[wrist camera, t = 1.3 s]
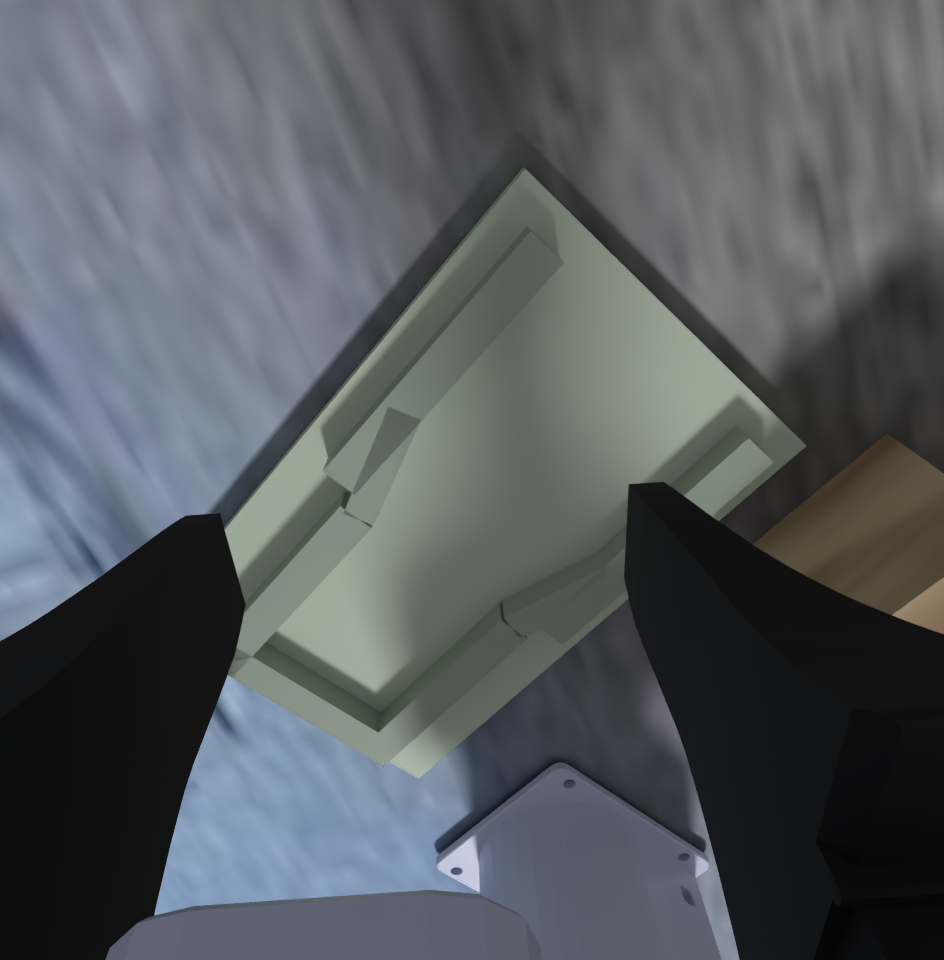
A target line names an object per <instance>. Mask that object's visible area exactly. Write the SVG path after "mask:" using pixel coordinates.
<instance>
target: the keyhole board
mask: <svg viewBox="0 0 944 960" xmlns="http://www.w3.org/2000/svg"><path fill="white" fill-rule="evenodd" d="M805 447H806V445H805V444H804V443H803V442H802V441H801V440H800V439H799V438H798V437H797V436H796V435H795V434H794V433H793V432H792V431H791V430H790V429H789V428H788V427H787V426H786V425H785V424H784V423H783V422H782V421H781V420H780V419H779V418H778V417H777V416H776V415H775V414H774V413H773V412H772V411H771V410H770V409H769V408H768V407H767V406H766V405H765V404H764V403H763V402H762V401H761V400H760V399H759V398H758V397H757V396H756V395H755V394H754V393H753V392H752V391H751V390H750V389H748V388H747V387H746V386H745V385H744V384H743V383H742V382H741V381H740V380H739V379H738V378H737V377H736V376H735V375H734V374H733V373H732V372H731V371H730V370H729V369H728V368H727V367H726V366H725V365H724V364H723V363H722V362H721V361H720V360H719V359H718V358H717V357H716V356H715V355H714V354H713V353H712V352H711V351H710V350H709V349H708V348H707V347H706V346H705V345H704V344H703V343H702V342H701V341H700V340H699V339H698V338H697V337H696V336H695V335H694V334H693V333H692V332H691V331H690V330H689V329H688V328H687V327H686V326H685V325H684V324H683V323H682V322H680V321H679V320H678V319H677V318H676V317H675V316H674V315H673V314H672V313H671V312H670V311H669V310H668V309H667V308H666V307H665V306H664V305H663V304H662V303H661V302H660V301H659V300H658V299H657V298H656V297H655V296H654V295H653V294H652V293H651V292H650V291H649V290H648V289H647V288H646V287H645V286H644V285H643V284H642V283H641V282H640V281H639V280H638V279H637V278H636V277H635V276H634V275H633V274H632V273H631V272H630V271H629V270H628V269H627V268H626V267H625V266H624V265H623V264H622V263H621V262H620V261H619V260H618V259H617V258H616V257H615V256H614V255H612V254H611V253H610V252H609V251H608V250H607V249H606V248H605V247H604V246H603V245H602V244H601V243H600V242H599V241H598V240H597V239H596V238H595V237H594V236H593V235H592V234H591V233H590V232H589V231H588V230H587V229H586V228H585V227H584V226H583V225H582V224H581V223H580V222H579V221H578V220H577V219H576V218H575V217H574V216H573V215H572V214H571V213H570V212H569V211H568V210H567V209H566V208H565V207H564V206H563V205H562V204H561V203H560V202H559V201H558V200H557V199H556V198H555V197H554V196H553V195H552V194H551V193H550V192H549V191H548V190H547V189H546V188H544V187H543V186H542V185H541V184H540V183H539V182H538V181H537V180H536V179H535V178H534V177H533V176H532V175H531V174H530V173H529V172H528V171H527V170H526V169H525V168H522V169H521V170H520V171H519V173H518V174H517V175H516V176H515V177H514V179H513V180H512V181H511V182H510V184H509V185H508V186H507V187H506V188H505V190H504V191H503V192H502V193H501V194H500V196H499V197H498V198H497V199H496V200H495V202H494V203H493V204H492V205H491V206H490V208H489V209H488V210H487V211H486V212H485V214H484V215H483V216H482V217H481V218H480V220H479V221H478V222H477V223H476V224H475V226H474V227H473V228H472V229H471V230H470V232H469V233H468V234H467V235H466V236H465V238H464V239H463V240H462V241H461V242H460V244H459V245H458V246H457V247H456V248H455V250H454V251H453V252H452V253H451V254H450V256H449V257H448V258H447V259H446V260H445V262H444V263H443V264H442V265H441V266H440V268H439V269H438V270H437V271H436V273H435V274H434V275H433V276H432V277H431V279H430V280H429V281H428V282H427V283H426V285H425V286H424V287H423V288H422V289H421V291H420V292H419V293H418V294H417V295H416V297H415V298H414V299H413V300H412V301H411V303H410V304H409V305H408V306H407V307H406V309H405V310H404V311H403V312H402V313H401V315H400V316H399V317H398V318H397V319H396V321H395V322H394V323H393V324H392V325H391V327H390V328H389V329H388V330H387V331H386V333H385V334H384V335H383V336H382V337H381V339H380V340H379V341H378V342H377V343H376V345H375V346H374V347H373V348H372V349H371V351H370V352H369V353H368V354H367V355H366V357H365V358H364V359H363V360H362V362H361V363H360V364H359V365H358V366H357V368H356V369H355V370H354V371H353V372H352V374H351V375H350V376H349V377H348V378H347V380H346V381H345V382H344V383H343V384H342V386H341V387H340V388H339V389H338V390H337V392H336V393H335V394H334V395H333V396H332V398H331V399H330V400H329V401H328V402H327V404H326V405H325V406H324V407H323V408H322V410H321V411H320V412H319V413H318V414H317V416H316V417H315V418H314V419H313V420H312V422H311V423H310V424H309V425H308V426H307V428H306V429H305V430H304V431H303V432H302V434H301V435H300V436H299V437H298V438H297V440H296V441H295V442H294V443H293V444H292V446H291V447H290V448H289V449H288V451H287V452H286V453H285V454H284V455H283V457H282V458H281V459H280V460H279V461H278V463H277V464H276V465H275V466H274V467H273V469H272V470H271V471H270V472H269V473H268V475H267V476H266V477H265V478H264V479H263V481H262V482H261V483H260V484H259V485H258V487H257V488H256V489H255V490H254V491H253V493H252V494H251V495H250V496H249V497H248V499H247V500H246V501H245V502H244V503H243V505H242V506H241V507H240V508H239V509H238V511H237V512H236V513H235V514H234V515H233V517H232V518H231V519H230V520H229V521H228V523H227V524H226V525H225V526H224V529H225V533H226V537H227V540H228V544H229V547H230V551H231V554H232V558H233V562H234V565H235V569H236V572H237V576H238V579H239V583H240V586H241V590H242V594H243V597H244V601H245V604H246V606H245V611H244V616H243V621H242V626H241V631H240V635H239V639H238V644H237V648H236V652H235V656H234V658H233V661H232V664H231V667H230V669H229V672H228V675H229V676H230V677H232V678H234V679H236V680H237V681H239V682H241V683H242V684H244V685H246V686H248V687H249V688H251V689H253V690H254V691H256V692H258V693H259V694H261V695H263V696H265V697H266V698H268V699H270V700H271V701H273V702H275V703H277V704H278V705H280V706H282V707H283V708H285V709H287V710H288V711H290V712H292V713H294V714H295V715H297V716H299V717H300V718H302V719H304V720H306V721H307V722H309V723H311V724H312V725H314V726H316V727H318V728H319V729H321V730H323V731H324V732H326V733H328V734H329V735H331V736H333V737H335V738H336V739H338V740H340V741H341V742H343V743H345V744H347V745H348V746H350V747H352V748H353V749H355V750H357V751H359V752H360V753H362V754H364V755H365V756H367V757H369V758H370V759H372V760H374V761H376V762H377V763H379V764H381V765H382V766H385V765H386V764H387V763H388V762H391V763H392V764H394V765H396V766H398V767H399V768H401V769H403V770H404V771H406V772H408V773H409V774H411V775H413V776H415V777H416V778H418V779H419V778H420V777H421V776H423V775H424V774H425V773H426V772H427V771H428V770H430V769H431V768H432V767H433V766H434V765H435V764H437V763H438V762H439V761H440V760H441V759H442V758H444V757H445V756H446V755H447V754H448V753H449V752H451V751H452V750H453V749H454V748H455V747H456V746H458V745H459V744H460V743H461V742H462V741H463V740H465V739H466V738H467V737H468V736H469V735H470V734H471V733H473V732H474V731H475V730H476V729H477V728H478V727H480V726H481V725H482V724H483V723H484V722H485V721H487V720H488V719H489V718H490V717H491V716H492V715H494V714H495V713H496V712H497V711H498V710H499V709H501V708H502V707H503V706H504V705H505V704H506V703H508V702H509V701H510V700H511V699H512V698H513V697H515V696H516V695H517V694H518V693H519V692H520V691H522V690H523V689H524V688H525V687H526V686H527V685H529V684H530V683H531V682H532V681H533V680H534V679H536V678H537V677H538V676H539V675H540V674H541V673H543V672H544V671H545V670H546V669H547V668H548V667H550V666H551V665H552V664H553V663H554V662H555V661H557V660H558V659H559V658H560V657H561V656H562V655H564V654H565V653H566V652H567V651H568V650H569V649H571V648H572V647H573V646H574V645H575V644H576V643H578V642H579V641H580V640H581V639H582V638H583V637H585V636H586V635H587V634H588V633H589V632H590V631H592V630H593V629H594V628H595V627H596V626H597V625H599V624H600V623H601V622H602V621H603V620H604V619H606V618H607V617H608V616H609V615H610V614H611V613H612V612H614V611H615V610H616V609H617V608H618V607H619V606H621V605H622V604H623V603H624V602H625V601H626V600H628V599H629V597H628V593H627V589H626V585H625V581H624V567H625V547H626V527H627V507H628V487H629V484H638V483H652V482H665V483H666V484H668V485H669V486H671V487H672V488H674V489H675V490H676V491H678V492H679V493H681V494H682V495H683V496H685V497H686V498H687V499H689V500H690V501H691V502H693V503H694V504H696V505H697V506H698V507H700V508H701V509H702V510H704V511H705V512H706V513H708V514H709V515H711V516H712V517H713V518H715V519H716V520H717V521H720V520H721V519H722V518H723V517H724V516H726V515H727V514H728V513H729V512H730V511H731V510H733V509H734V508H735V507H736V506H737V505H738V504H740V503H741V502H742V501H743V500H744V499H745V498H747V497H748V496H749V495H750V494H751V493H752V492H753V491H755V490H756V489H757V488H758V487H759V486H760V485H762V484H763V483H764V482H765V481H766V480H767V479H769V478H770V477H771V476H772V475H773V474H774V473H776V472H777V471H778V470H779V469H780V468H781V467H783V466H784V465H785V464H786V463H787V462H788V461H790V460H791V459H792V458H793V457H794V456H795V455H797V454H798V453H799V452H800V451H801V450H802V449H804V448H805Z"/></svg>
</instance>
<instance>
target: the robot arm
mask: <svg viewBox="0 0 944 960" xmlns="http://www.w3.org/2000/svg"><path fill="white" fill-rule="evenodd" d="M624 581H625V585H626V589H627V593H628V597H629V601H630V606H631V609H632V613H633V617H634V621H635V625H636V628H637V630H638V633H639V635H640V638H641V640H642V643H643V646H644V648H645V651H646V653H647V656H648V658H649V661H650V663H651V666H652V668H653V671H654V673H655V675H656V678H657V680H658V683H659V685H660V688H661V690H662V693H663V695H664V698H665V700H666V703H667V705H668V707H669V710H670V712H671V715H672V717H673V720H674V722H675V725H676V727H677V730H678V732H679V735H680V738H681V741H682V744H683V747H684V749H685V752H686V755H687V759H688V762H689V766H690V769H691V773H692V776H693V780H694V783H695V787H696V790H697V794H698V797H699V801H700V804H701V808H702V812H703V815H704V819H705V823H706V827H707V830H708V834H709V838H710V842H711V845H712V849H713V853H714V857H715V860H716V864H717V868H718V872H719V876H720V880H721V884H722V888H723V892H724V896H725V900H726V904H727V908H728V912H729V916H730V920H731V925H732V929H733V933H734V937H735V941H736V945H737V950H738V954H739V958H740V960H944V634H942V633H939V632H936V631H933V630H930V629H927V628H924V627H922V626H919V625H916V624H913V623H911V622H908V621H905V620H902V619H900V618H898V617H895V616H893V615H890V614H888V613H885V612H883V611H880V610H878V609H875V608H873V607H871V606H868V605H866V604H863V603H861V602H859V601H856V600H854V599H852V598H850V597H848V596H845V595H843V594H841V593H839V592H837V591H835V590H833V589H831V588H829V587H827V586H825V585H823V584H821V583H819V582H817V581H815V580H813V579H811V578H809V577H807V576H805V575H803V574H801V573H800V572H798V571H796V570H794V569H792V568H791V567H789V566H787V565H785V564H784V563H782V562H780V561H779V560H777V559H775V558H774V557H772V556H770V555H769V554H767V553H766V552H764V551H762V550H761V549H759V548H757V547H756V546H754V545H753V544H751V543H750V542H748V541H747V540H745V539H744V538H742V537H741V536H739V535H738V534H736V533H735V532H733V531H732V530H730V529H729V528H727V527H726V526H725V525H723V524H722V523H720V522H719V521H717V520H716V519H715V518H713V517H712V516H711V515H709V514H708V513H706V512H705V511H704V510H702V509H701V508H700V507H698V506H697V505H696V504H694V503H693V502H691V501H690V500H689V499H687V498H686V497H685V496H683V495H682V494H681V493H679V492H678V491H676V490H675V489H674V488H672V487H671V486H669V485H668V484H666V483H665V482H652V483H638V484H629V487H628V507H627V527H626V547H625V567H624ZM245 606H246V604H245V601H244V597H243V594H242V590H241V586H240V583H239V579H238V576H237V572H236V569H235V565H234V562H233V558H232V554H231V551H230V547H229V544H228V540H227V537H226V533H225V529H224V526H223V522H222V519H221V515H220V513H218V514H204V515H190V516H185V517H183V518H181V519H180V520H178V521H176V522H175V523H173V524H172V525H170V526H169V527H167V528H166V529H165V530H163V531H162V532H160V533H159V534H158V535H156V536H155V537H153V538H152V539H151V540H149V541H148V542H147V543H145V544H144V545H143V546H141V547H140V548H139V549H137V550H136V551H135V552H133V553H132V554H131V555H129V556H128V557H127V558H125V559H124V560H123V561H121V562H120V563H118V564H117V565H116V566H114V567H113V568H112V569H110V570H109V571H108V572H106V573H105V574H104V575H102V576H101V577H99V578H98V579H97V580H95V581H94V582H92V583H91V584H89V585H88V586H86V587H85V588H84V589H82V590H81V591H79V592H78V593H76V594H75V595H73V596H72V597H70V598H69V599H67V600H66V601H65V602H63V603H62V604H60V605H59V606H57V607H56V608H54V609H53V610H51V611H50V612H48V613H47V614H45V615H44V616H42V617H41V618H39V619H37V620H36V621H34V622H33V623H31V624H29V625H28V626H26V627H24V628H23V629H21V630H19V631H18V632H16V633H14V634H12V635H11V636H9V637H7V638H5V639H4V640H2V641H0V960H721V956H720V953H719V950H718V947H717V944H716V941H715V938H714V934H713V931H712V928H711V925H710V922H709V919H708V916H707V912H706V909H705V906H704V903H703V900H702V897H701V894H700V891H699V887H698V884H697V881H696V877H697V876H699V875H701V874H702V873H704V872H705V871H706V870H707V869H708V868H709V866H710V863H709V860H708V857H707V855H706V854H704V853H703V852H701V851H700V850H698V849H697V848H695V847H694V846H692V845H691V844H689V843H688V842H686V841H684V840H683V839H681V838H680V837H678V836H677V835H675V834H674V833H672V832H671V831H669V830H668V829H666V828H665V827H663V826H661V825H660V824H658V823H657V822H655V821H654V820H652V819H651V818H649V817H648V816H646V815H645V814H643V813H642V812H640V811H638V810H637V809H635V808H634V807H632V806H631V805H629V804H628V803H626V802H625V801H623V800H622V799H620V798H618V797H617V796H615V795H614V794H612V793H611V792H609V791H608V790H606V789H605V788H603V787H602V786H600V785H599V784H597V783H595V782H594V781H592V780H591V779H589V778H588V777H586V776H585V775H583V774H582V773H580V772H579V771H577V770H576V769H574V768H572V767H571V766H569V765H568V764H565V763H555V764H553V765H551V766H550V767H549V768H547V769H546V770H545V771H543V772H542V773H541V774H540V775H538V776H537V777H536V778H535V779H533V780H532V781H531V782H530V783H528V784H527V785H526V786H525V787H523V788H522V789H521V790H520V791H518V792H517V793H516V794H514V795H513V796H512V797H511V798H509V799H508V800H507V801H506V802H504V803H503V804H502V805H501V806H499V807H498V808H497V809H496V810H494V811H493V812H492V813H491V814H489V815H488V816H487V817H485V818H484V819H483V820H482V821H480V822H479V823H478V824H477V825H475V826H474V827H473V828H472V829H470V830H469V831H468V832H467V833H465V834H464V835H463V836H462V837H460V838H459V839H458V840H456V841H455V842H454V843H453V844H451V845H450V846H449V847H448V848H446V849H445V850H444V851H443V852H441V853H440V854H439V855H438V856H437V863H436V866H437V869H438V870H440V871H441V872H443V873H445V874H446V875H448V876H450V877H452V878H454V879H456V880H457V881H459V882H461V883H463V884H465V885H467V886H468V887H470V888H472V889H474V890H476V891H478V892H479V893H480V894H471V893H459V892H447V891H436V890H422V891H408V892H393V893H379V894H364V895H350V896H335V897H321V898H306V899H292V900H277V901H263V902H248V903H234V904H220V905H205V906H193V907H189V908H185V909H181V910H176V911H172V912H168V913H164V914H160V915H156V916H154V913H155V908H156V904H157V899H158V895H159V891H160V887H161V882H162V878H163V874H164V870H165V865H166V861H167V857H168V853H169V848H170V844H171V840H172V837H173V833H174V829H175V825H176V821H177V817H178V814H179V810H180V806H181V802H182V798H183V795H184V791H185V788H186V785H187V782H188V779H189V776H190V773H191V770H192V767H193V764H194V761H195V759H196V756H197V753H198V751H199V748H200V745H201V743H202V740H203V738H204V735H205V732H206V730H207V727H208V725H209V722H210V719H211V717H212V714H213V712H214V709H215V706H216V704H217V701H218V699H219V696H220V694H221V691H222V688H223V685H224V683H225V680H226V677H227V675H228V672H229V669H230V667H231V664H232V661H233V658H234V656H235V652H236V648H237V644H238V639H239V635H240V631H241V626H242V621H243V616H244V611H245ZM566 780H570V781H566Z"/></svg>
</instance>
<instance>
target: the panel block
mask: <svg viewBox="0 0 944 960" xmlns="http://www.w3.org/2000/svg"><path fill="white" fill-rule="evenodd" d="M753 545H754V546H756V547H757V548H759V549H761V550H762V551H764V552H766V553H767V554H769V555H770V556H772V557H774V558H775V559H777V560H779V561H780V562H782V563H784V564H785V565H787V566H789V567H791V568H792V569H794V570H796V571H798V572H800V573H801V574H803V575H805V576H807V577H809V578H811V579H813V580H815V581H817V582H819V583H821V584H823V585H825V586H827V587H829V588H831V589H833V590H835V591H837V592H839V593H841V594H843V595H845V596H848V597H850V598H852V599H854V600H856V601H859V602H861V603H863V604H866V605H868V606H871V607H873V608H875V609H878V610H880V611H883V612H885V613H888V614H890V615H893V616H895V617H898V618H900V619H902V620H905V621H908V622H911V623H913V624H916V625H919V626H922V627H924V628H927V629H930V630H933V631H936V632H939V633H942V634H944V473H942V472H941V471H940V470H938V469H937V468H935V467H934V466H933V465H931V464H930V463H928V462H927V461H926V460H924V459H923V458H921V457H920V456H919V455H917V454H916V453H914V452H913V451H911V450H910V449H909V448H907V447H906V446H904V445H903V444H902V443H900V442H899V441H897V440H896V439H895V438H893V437H892V436H890V435H889V434H888V433H886V434H885V435H884V436H883V437H882V438H880V439H879V440H878V441H877V442H876V443H874V444H873V445H872V446H871V447H869V448H868V449H867V450H866V451H865V452H863V453H862V454H861V455H860V456H859V457H857V458H856V459H855V460H854V461H853V462H851V463H850V464H849V465H848V466H847V467H845V468H844V469H843V470H842V471H841V472H839V473H838V474H837V475H836V476H834V477H833V478H832V479H831V480H830V481H828V482H827V483H826V484H825V485H824V486H822V487H821V488H820V489H819V490H818V491H816V492H815V493H814V494H813V495H812V496H810V497H809V498H808V499H807V500H806V501H804V502H803V503H802V504H801V505H799V506H798V507H797V508H796V509H795V510H793V511H792V512H791V513H790V514H789V515H787V516H786V517H785V518H784V519H783V520H781V521H780V522H779V523H778V524H777V525H775V526H774V527H773V528H772V529H770V530H769V531H768V532H767V533H766V534H764V535H763V536H762V537H761V538H760V539H758V540H757V541H756V542H755V543H754V544H753Z"/></svg>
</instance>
